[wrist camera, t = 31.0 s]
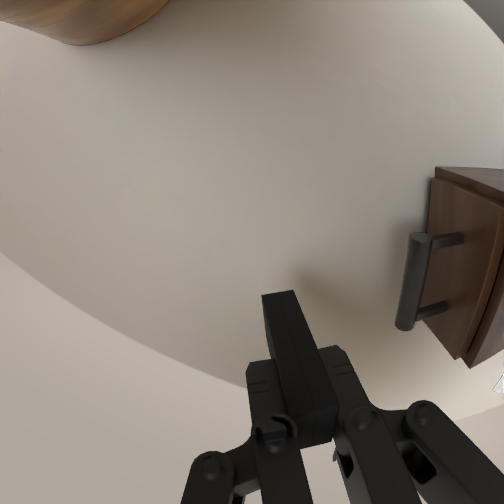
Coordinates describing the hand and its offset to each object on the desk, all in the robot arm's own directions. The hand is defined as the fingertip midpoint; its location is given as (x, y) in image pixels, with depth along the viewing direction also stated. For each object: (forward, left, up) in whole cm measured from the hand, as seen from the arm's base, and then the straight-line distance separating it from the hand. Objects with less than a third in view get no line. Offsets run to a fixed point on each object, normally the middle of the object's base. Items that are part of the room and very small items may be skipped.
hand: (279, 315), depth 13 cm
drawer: (+16, 0, -4) cm, 16 cm away
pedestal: (-7, +21, -5) cm, 23 cm away
